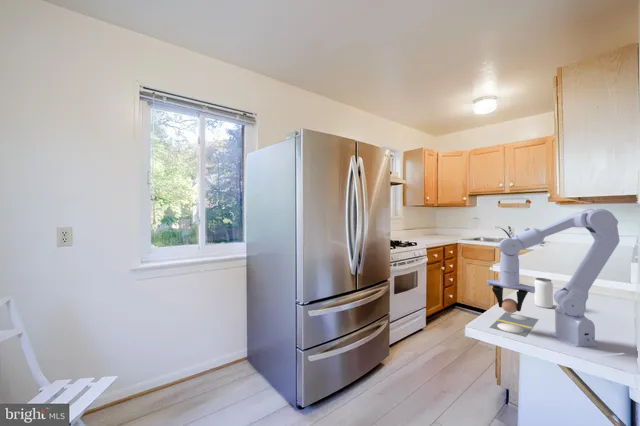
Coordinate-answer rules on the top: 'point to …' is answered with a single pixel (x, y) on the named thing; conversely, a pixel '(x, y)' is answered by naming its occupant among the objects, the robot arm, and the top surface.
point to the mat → (516, 322)
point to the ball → (509, 305)
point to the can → (543, 293)
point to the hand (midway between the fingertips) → (509, 308)
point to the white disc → (510, 328)
